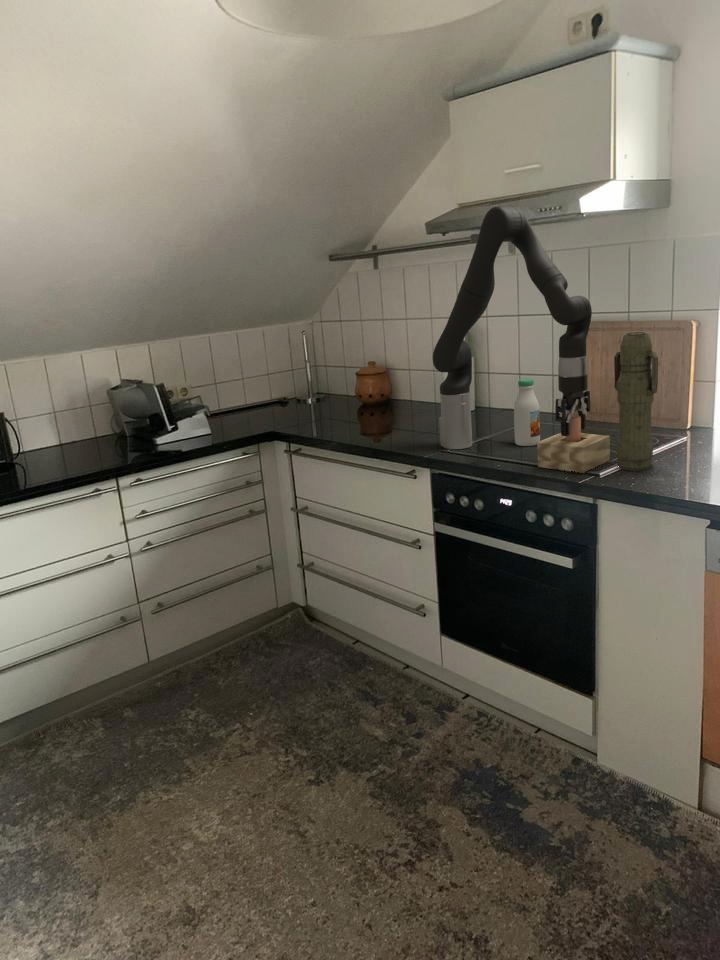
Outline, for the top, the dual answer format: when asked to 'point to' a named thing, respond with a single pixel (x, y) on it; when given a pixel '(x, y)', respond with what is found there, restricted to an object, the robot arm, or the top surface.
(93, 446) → the top surface
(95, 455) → the top surface
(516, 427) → the milk bottle
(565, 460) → the bore block
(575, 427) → the dowel pin
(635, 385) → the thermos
